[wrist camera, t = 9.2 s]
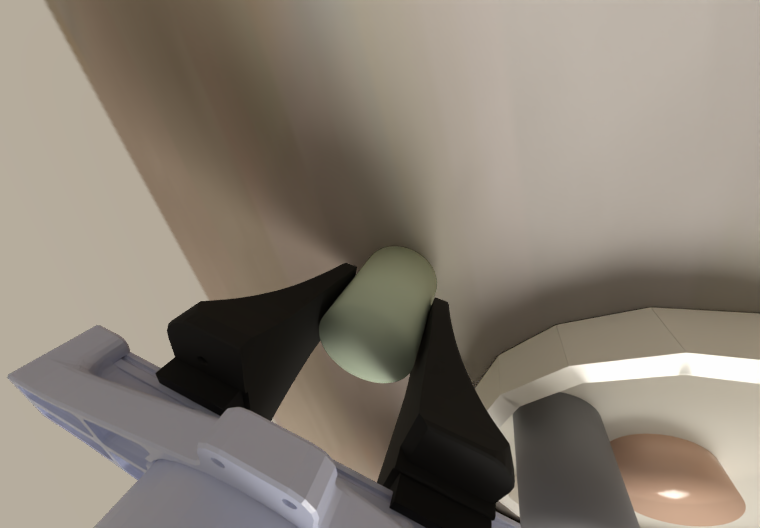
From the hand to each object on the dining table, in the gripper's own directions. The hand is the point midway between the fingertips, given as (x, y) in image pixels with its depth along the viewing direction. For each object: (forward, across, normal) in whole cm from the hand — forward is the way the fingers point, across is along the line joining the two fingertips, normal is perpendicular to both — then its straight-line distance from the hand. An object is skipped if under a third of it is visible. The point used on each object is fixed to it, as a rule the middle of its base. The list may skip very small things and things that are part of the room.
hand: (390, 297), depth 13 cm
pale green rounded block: (+2, 0, 0) cm, 2 cm away
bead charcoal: (+1, -10, +4) cm, 11 cm away
